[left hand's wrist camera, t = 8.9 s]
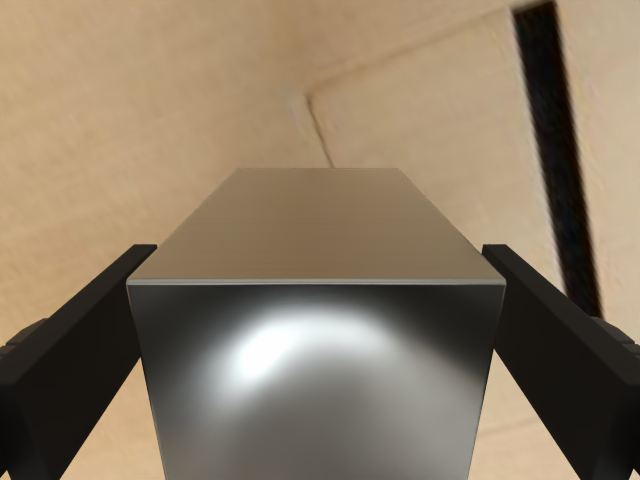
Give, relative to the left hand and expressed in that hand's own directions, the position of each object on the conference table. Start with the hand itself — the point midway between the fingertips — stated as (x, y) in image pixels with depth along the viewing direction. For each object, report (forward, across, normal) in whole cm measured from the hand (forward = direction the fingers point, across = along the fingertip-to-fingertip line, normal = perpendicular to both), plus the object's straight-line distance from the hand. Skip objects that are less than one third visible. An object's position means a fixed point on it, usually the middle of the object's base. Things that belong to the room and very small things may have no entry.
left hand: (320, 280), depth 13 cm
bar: (+2, 0, -9) cm, 9 cm away
